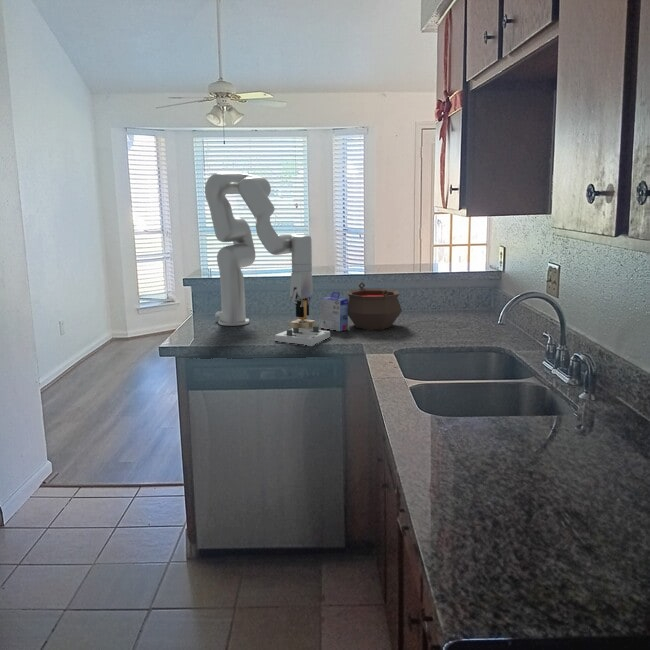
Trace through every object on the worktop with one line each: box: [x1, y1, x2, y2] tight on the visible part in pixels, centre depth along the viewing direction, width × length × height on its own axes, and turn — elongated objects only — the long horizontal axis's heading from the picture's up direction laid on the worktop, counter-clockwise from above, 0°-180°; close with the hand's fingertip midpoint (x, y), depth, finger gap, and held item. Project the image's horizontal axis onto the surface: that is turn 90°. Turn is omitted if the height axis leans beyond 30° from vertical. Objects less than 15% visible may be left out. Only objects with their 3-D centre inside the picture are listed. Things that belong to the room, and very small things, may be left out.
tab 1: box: [285, 328, 296, 337], centre depth 235 cm, size 4×2×3 cm, turn 62°
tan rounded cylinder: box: [297, 299, 308, 322], centre depth 250 cm, size 3×3×12 cm
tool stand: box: [289, 318, 316, 329], centre depth 251 cm, size 7×7×4 cm
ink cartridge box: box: [319, 291, 349, 332], centre depth 254 cm, size 10×6×14 cm, turn 53°
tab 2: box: [292, 327, 302, 334], centre depth 239 cm, size 4×2×3 cm, turn 62°
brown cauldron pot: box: [346, 281, 403, 330], centre depth 259 cm, size 24×24×16 cm
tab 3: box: [310, 325, 321, 333], centre depth 240 cm, size 4×2×3 cm, turn 62°
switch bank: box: [274, 328, 331, 347], centre depth 238 cm, size 15×14×3 cm
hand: (302, 315), depth 250 cm, fingers closed on tan rounded cylinder, 3 cm apart
